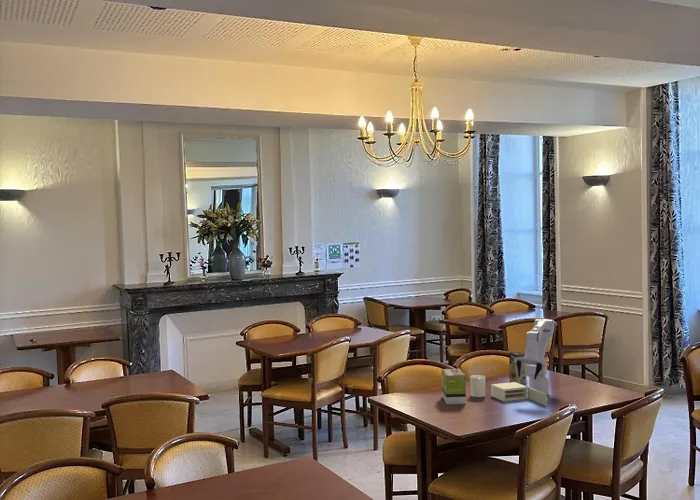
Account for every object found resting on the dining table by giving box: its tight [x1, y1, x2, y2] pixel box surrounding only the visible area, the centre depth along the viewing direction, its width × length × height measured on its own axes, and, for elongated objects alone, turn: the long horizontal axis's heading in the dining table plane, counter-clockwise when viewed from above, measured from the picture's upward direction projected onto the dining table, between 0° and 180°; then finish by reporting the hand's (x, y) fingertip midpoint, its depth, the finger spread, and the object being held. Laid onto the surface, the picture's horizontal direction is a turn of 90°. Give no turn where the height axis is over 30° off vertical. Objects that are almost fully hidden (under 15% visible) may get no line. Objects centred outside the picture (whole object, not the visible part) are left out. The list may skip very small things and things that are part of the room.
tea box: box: [441, 368, 467, 405], centre depth 343 cm, size 15×10×15 cm, turn 1°
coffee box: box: [509, 351, 528, 385], centre depth 381 cm, size 9×6×16 cm
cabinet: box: [490, 381, 529, 402], centre depth 347 cm, size 14×12×6 cm
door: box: [527, 386, 549, 406], centre depth 337 cm, size 15×2×6 cm, turn 19°
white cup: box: [469, 374, 487, 398], centre depth 352 cm, size 8×8×10 cm
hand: (527, 377), depth 335 cm, fingers open, 7 cm apart
